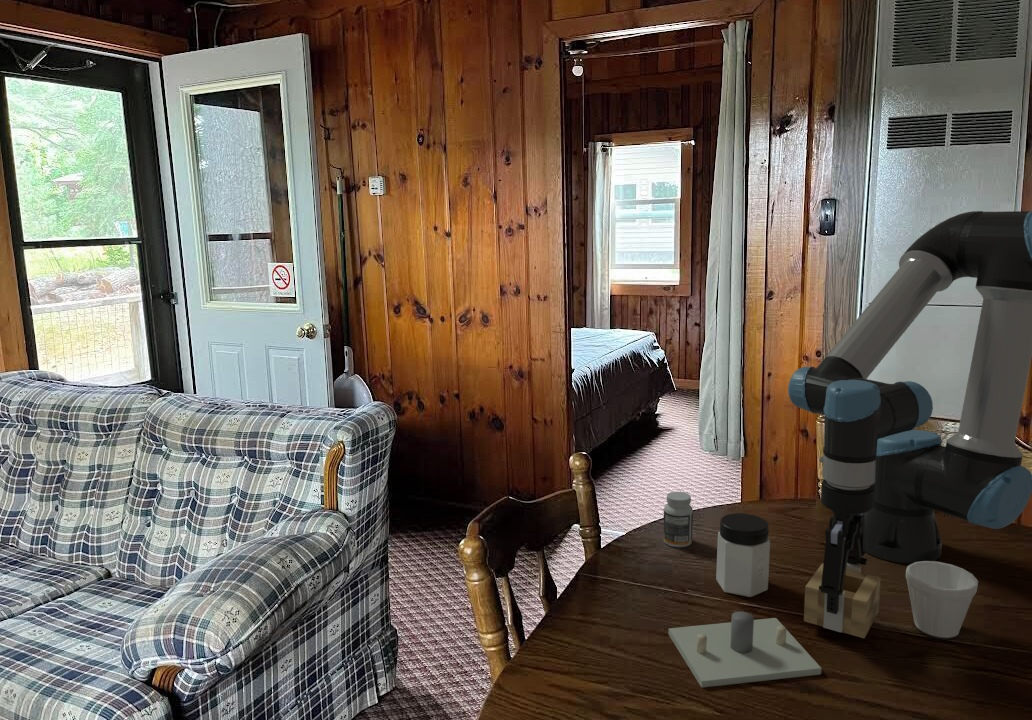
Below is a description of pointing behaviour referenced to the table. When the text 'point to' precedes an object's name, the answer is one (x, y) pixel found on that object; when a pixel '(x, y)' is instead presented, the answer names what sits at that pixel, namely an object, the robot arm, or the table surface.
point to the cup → (939, 597)
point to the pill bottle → (678, 520)
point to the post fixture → (742, 651)
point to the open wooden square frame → (846, 601)
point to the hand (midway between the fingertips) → (841, 614)
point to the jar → (743, 554)
